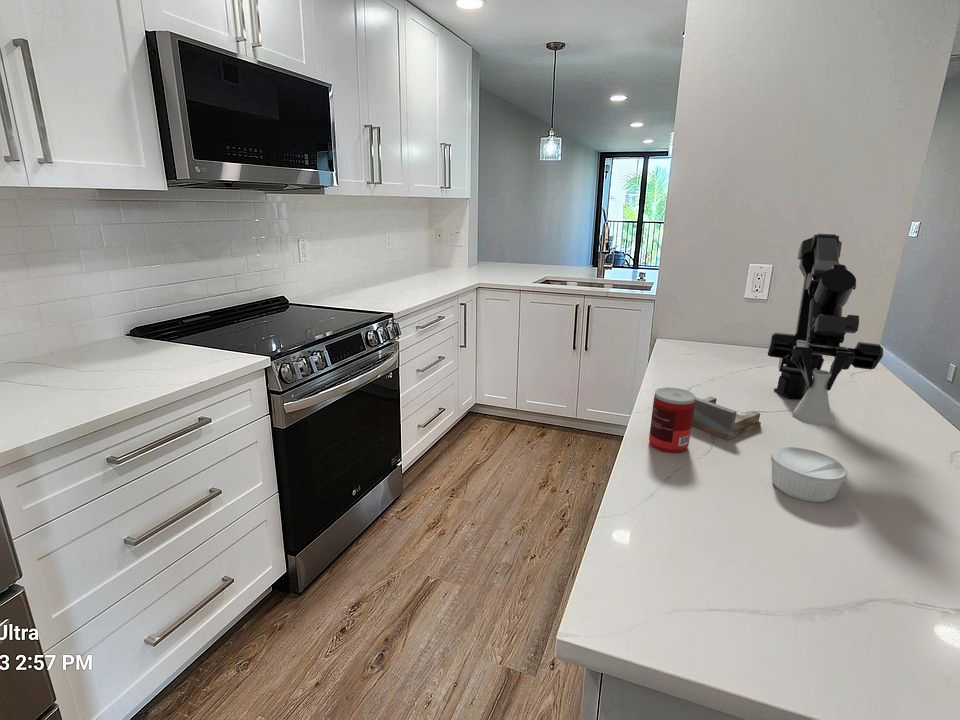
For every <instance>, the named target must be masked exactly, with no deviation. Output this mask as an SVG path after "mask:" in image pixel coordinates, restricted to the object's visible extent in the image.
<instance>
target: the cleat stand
mask: <svg viewBox="0 0 960 720" xmlns="http://www.w3.org/2000/svg"><path fill="white" fill-rule="evenodd" d="M717 399H718V398H717V397H714V396H708V397H705V398H699V397H696V401H695V408H694V414H693V421H692V427H693V428H695V429H698V430H700V431H703V432H705V433H707V434H710V435H712V436H715V437H718V438H719V439H723V440H725V441H728V440H731V439H733V438H735V437H738V436H740V435H743V434H745V433H749V432H750V431H753V430H755V429H758V428H760V427H761V424H762V422H760V416H761V413H760V412H758V411H754V410H753V411H750V412H748V413H747V412H746V413H745V414H741V415H740V414H738V413H737V412H738V411H736V410H733V409H731V408H728V407H725V406H723V405H719V404H717ZM692 427H691V428H692Z"/></svg>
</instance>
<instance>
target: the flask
mask: <svg viewBox="0 0 960 720" xmlns="http://www.w3.org/2000/svg"><path fill="white" fill-rule="evenodd" d="M812 377H813V379H812V386H811V388H809V389H808V390H807V392H806V394H805V395H804V397H803V398H802V399H801V400H800V401H799V403H798V404H797V405H796V406H795V408H794V410H793V411H792V415H791V417H792V418H794V419H796V420H798V421H799V422H801V423H804V424H808V425H815V426H818V427H819V426H821V427H822V426H823V427H824V426H833V424H834V423H833V415H832V412H831V405H830V401H829V395H828V390H827V384H828V379H829V377H831V373H830V371H828V370H822V369H821V370H813V376H812Z"/></svg>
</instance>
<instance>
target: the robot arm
mask: <svg viewBox="0 0 960 720" xmlns="http://www.w3.org/2000/svg"><path fill="white" fill-rule="evenodd" d="M842 245H843V242H842V241H841V240H840V236H839V235H836V234H834V233H817V234H814V235H813V236H812V237H810V238H807V239H804V240H803V241H801V243H800V246H799V249H798V253H797V260H799V264H798V265H799V266H798V268H799V270H800V272H801V274H802V276H803V277H804V279H803V286H802V292H801V298H800V304H799V309H798V314H797V315H798V316H797V322H796V326H795V327H796V328H795V333H794V334H791V333H782V332H774V333H773V334H772V335H771V338H770V341H769V343H768V349H767V356H768V357H771V358H776V359H777V358H779V361H778V367H777V368H778V371H779V372H778V373H780V375H779V377H778V381H777V387H776V388H775V387H774V388H773V391H774V392H776V393H778V394H780V395H782V396H783V397H785V398H787V399H789V400H794V399H797V400H799V399H801V400H802V398H803V397H804V395H805V394H806V392H807V390H808V389H809V388H811V386H812V380H813V370H822V367H823V364H824V361H825V359H824V357H823V356H826V357H833V358H834V359H833V361H832V363H831V365H830V367H829V372H830V373H831V377H829V379H828V384H827V391H831V389H832V387H833V385H834V383H835V381H836V379H837V377H838V376H839V374H840V373H841V372H842V370H845V371H846V370H849V368H850V367H851V366H852V367H854V368H855V369H862V370H874V369H876V367H877V366H878V364H879V363H880V362H881V360H882V358H883V357H884V348H883V347H882V345H880V343H879V344H878V343H872V342H871V343H870V342H862V341H858V342H857V343H856V345H855V347H854V348H852V347H846V346H841V344H843V343H844V341H845V335H846V334H856V333H857V332H858V330H859V326H860V315H854V314H848V315H846V316H843V307H844V306H845V305H846V304H847V303H848V300H849V298H850V296H851V294H852V293H853V292H852V291H853V290H854V291H855V290H856V288H857V287H856V286H857V278H856V276H855V275H854V273H852V272H851V271H850V270H848V268H847V266H846V265H845V264H841V263H840V258H841V253H842V252H841V251H842Z"/></svg>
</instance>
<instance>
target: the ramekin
mask: <svg viewBox="0 0 960 720" xmlns="http://www.w3.org/2000/svg"><path fill="white" fill-rule="evenodd" d="M770 460H771V480H772V483H773V484H774V485H775V486H774V487H776V488H777V489H778V490H779V491H781V492H782V493H784V494H785V495H788V496H790V497H792V498H795V499H798V500H801V501H805V502H812V503H825V502H828V501H830V500H833V499H834V498H835V497H836V495H837V494H838V491H839V490H840V488H841V485H842V483H843V482H844V481H845V480H846V479H847V475H848V470H847V468H846V467H845V465H843V464H842V463H841V462H840V461H839V460H836V459H835V458H833V457H831V456H829V455H826V454H824V453H822V452H818V451H815V450H811V449H807V448H803V447H792V446H788V447H787V446H785V447H779V448H776V449H774V450H773V451H772V452H771V455H770Z"/></svg>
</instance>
